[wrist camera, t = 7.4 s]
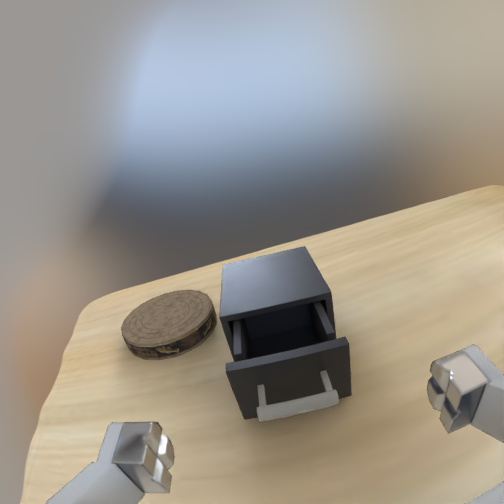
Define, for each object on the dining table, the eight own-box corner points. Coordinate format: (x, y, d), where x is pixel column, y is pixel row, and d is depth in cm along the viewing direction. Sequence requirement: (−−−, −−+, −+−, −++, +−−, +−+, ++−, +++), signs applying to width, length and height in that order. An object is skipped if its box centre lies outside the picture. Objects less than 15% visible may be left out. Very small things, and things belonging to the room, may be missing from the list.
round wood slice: (209, 355, 44) (203, 338, 43) (114, 362, 46) (106, 347, 44) (222, 298, 58) (218, 283, 57) (144, 310, 60) (139, 296, 59)
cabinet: (337, 353, 38) (331, 291, 35) (238, 375, 39) (219, 317, 35) (313, 297, 52) (304, 246, 48) (237, 314, 52) (222, 264, 49)
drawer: (363, 424, 26) (363, 373, 24) (246, 450, 27) (225, 405, 24) (322, 325, 43) (316, 279, 40) (240, 344, 43) (227, 299, 41)
